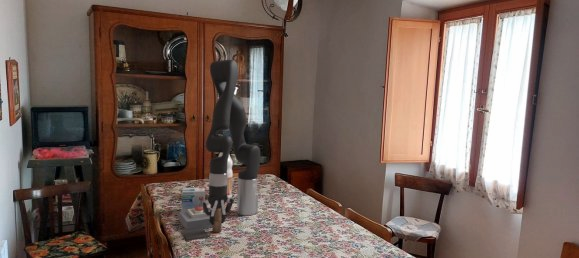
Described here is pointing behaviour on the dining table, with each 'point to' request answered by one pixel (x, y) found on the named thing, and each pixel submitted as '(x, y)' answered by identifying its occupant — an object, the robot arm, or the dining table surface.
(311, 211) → the dining table surface
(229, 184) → the fruit juice
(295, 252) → the dining table surface
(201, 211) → the plunger
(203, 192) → the light bulb box
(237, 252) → the dining table surface
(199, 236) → the mat
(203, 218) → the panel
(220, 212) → the dowel
